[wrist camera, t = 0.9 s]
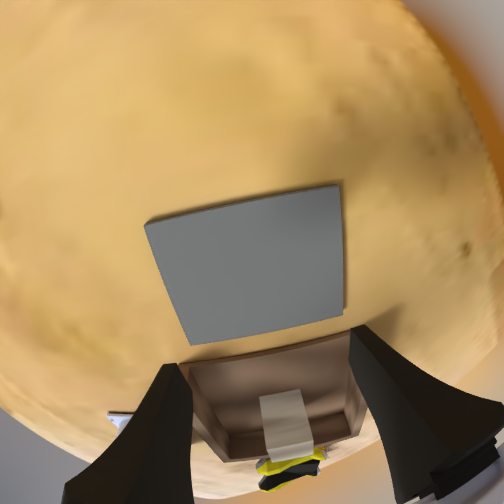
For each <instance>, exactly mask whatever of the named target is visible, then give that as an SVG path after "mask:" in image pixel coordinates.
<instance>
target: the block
mask: <svg viewBox="0 0 504 504" xmlns="http://www.w3.org/2000/svg"><path fill="white" fill-rule="evenodd" d="M259 400H260V407H261V414H262V421H263V429H264V436H265V443H266V450H267V452H268V454H269V456H270V459H271V461H272V462H278V461H284V460H289V459H294V458H299V457H304V456H308V455H312V454H313V437H312V433H311V429H310V425H309V421H308V417H307V414H306V410H305V406H304V402H303V398H302V395H301V391H300V389H296V390H291V391H287V392H282V393H277V394H272V395H266V396H261V397H259Z"/></svg>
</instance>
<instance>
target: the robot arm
mask: <svg viewBox="0 0 504 504" xmlns="http://www.w3.org/2000/svg"><path fill="white" fill-rule="evenodd" d="M348 361H349V364H350V367H351V370H352V373H353V376H354V378H355V381H356V383H357V385H358V387H359V389H360V391H361V393H362V395H363V397H364V400H365V402H366V404H367V406H368V408H369V410H370V412H371V414H372V416H373V418H374V420H375V423H376V425H377V428H378V431H379V434H380V437H381V440H382V443H383V446H384V450H385V453H386V457H387V461H388V464H389V469H390V473H391V478H392V482H393V488H394V494H395V500H396V503H397V504H404V503H406V502H408V501H410V500H412V499H414V498H416V497H418V496H419V498H420V500H419V501H417V502H415V503H413V504H503V503H504V443H503V444H501V445H500V446H499V447H498V448H497V449H496V447H495V444H496V443H497V440H496V438H495V437H494V436H495V435H496V434H498V433H499V432H500V431H501V430H502V428H504V405H503V404H502V403H501V402H497V401H493V400H489V399H485V398H481V397H478V396H475V395H472V394H469V393H466V392H464V391H461V390H459V389H457V388H454V387H452V386H450V385H448V384H446V383H444V382H442V381H440V380H438V379H436V378H435V377H433V376H431V375H429V374H428V373H426V372H425V371H423V370H421V369H420V368H418V367H417V366H416V365H414V364H413V363H411V362H410V361H408V360H407V359H406V358H404V357H403V356H402V355H401V354H399V353H398V352H397V351H395V350H394V349H393V348H392V347H390V346H389V345H388V344H387V343H386V342H384V341H383V340H382V339H381V338H380V337H378V336H377V335H376V334H375V333H374V332H373V331H372V330H370V329H369V328H368V327H367V326H366V325H361V326H357V327H354V328H351V331H350V345H349V357H348ZM106 417H107V418H108V419H109V420H110V421H111V422H112V423H113V424H114V425H115V426H116V427H117V428H118V432H117V437H116V439H115V440H114V441H113V443H112V444H111V445H110V446H109V447H108V448H107V449H106V450H105V451H104V452H103V453H102V454H101V456H100V457H98V458H97V459H96V460H95V461H94V462H93V463H92V464H91V465H90V466H88V467H87V468H86V469H85V470H83V471H82V472H81V473H79V474H78V475H77V476H75V477H74V478H72V479H71V480H70V481H68V482H66V483H65V486H64V491H63V496H62V502H61V504H194V498H193V490H192V481H191V468H190V452H191V438H192V425H193V391H192V389H191V387H190V386H189V384H188V382H187V381H186V379H185V377H184V376H183V374H182V372H181V370H180V369H179V367H178V365H177V363H171V364H163V365H162V367H161V368H160V370H159V372H158V374H157V375H156V377H155V379H154V381H153V383H152V384H151V386H150V388H149V390H148V391H147V393H146V395H145V397H144V398H143V400H142V402H141V403H140V405H139V407H138V408H137V410H136V411H135V413H134V414H110V413H108V414H107V415H106Z"/></svg>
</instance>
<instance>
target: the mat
mask: <svg viewBox="0 0 504 504" xmlns="http://www.w3.org/2000/svg"><path fill="white" fill-rule="evenodd" d="M144 229H145V232H146V235H147V238H148V241H149V244H150V247H151V249H152V252H153V255H154V258H155V261H156V263H157V266H158V269H159V271H160V274H161V277H162V279H163V282H164V285H165V287H166V290H167V292H168V295H169V297H170V300H171V302H172V304H173V307H174V309H175V312H176V314H177V316H178V319H179V321H180V323H181V326H182V328H183V330H184V332H185V335H186V337H187V339H188V341H189V343H190V346H192V345H199V344H206V343H212V342H218V341H225V340H231V339H236V338H242V337H247V336H253V335H258V334H263V333H268V332H273V331H278V330H282V329H287V328H292V327H296V326H300V325H305V324H309V323H313V322H317V321H321V320H325V319H329V318H333V317H337V316H341V315H343V242H342V220H341V205H340V191H339V186H338V185H330V186H324V187H317V188H311V189H305V190H299V191H294V192H288V193H282V194H277V195H271V196H266V197H261V198H256V199H251V200H246V201H241V202H236V203H231V204H226V205H221V206H217V207H212V208H208V209H203V210H199V211H194V212H190V213H186V214H181V215H177V216H173V217H169V218H165V219H161V220H157V221H153V222H149V223H146V224H145V225H144Z"/></svg>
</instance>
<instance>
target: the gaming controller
mask: <svg viewBox="0 0 504 504" xmlns="http://www.w3.org/2000/svg"><path fill="white" fill-rule="evenodd" d="M327 458H330V457H329V456H328V454H327V453H326V452H325V447H324V446H322V447H318V448H314V449H313V454H312V455H308V456H304V457H299V458H294V459H289V460H284V461H278V462H272V461H271V459H270V457H269V458H262V459H260V460H259V461H258V463H257V464H256V469H257V471H258V473H260V474H263V475H264V477H263V478H262V479H261V481H260V482H259V483H258V484H259V488H260V490H262V491H265V492H272V491H276V490H278V489H280V488H281V487H283V486H285V485H287V484H288V483H290V482H292V481H293V480H295V479H297V478H299V477H302V476H317V475H318V474H321V471H320V469H319V467H318V465H319V463H320V460H326V459H327Z"/></svg>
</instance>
